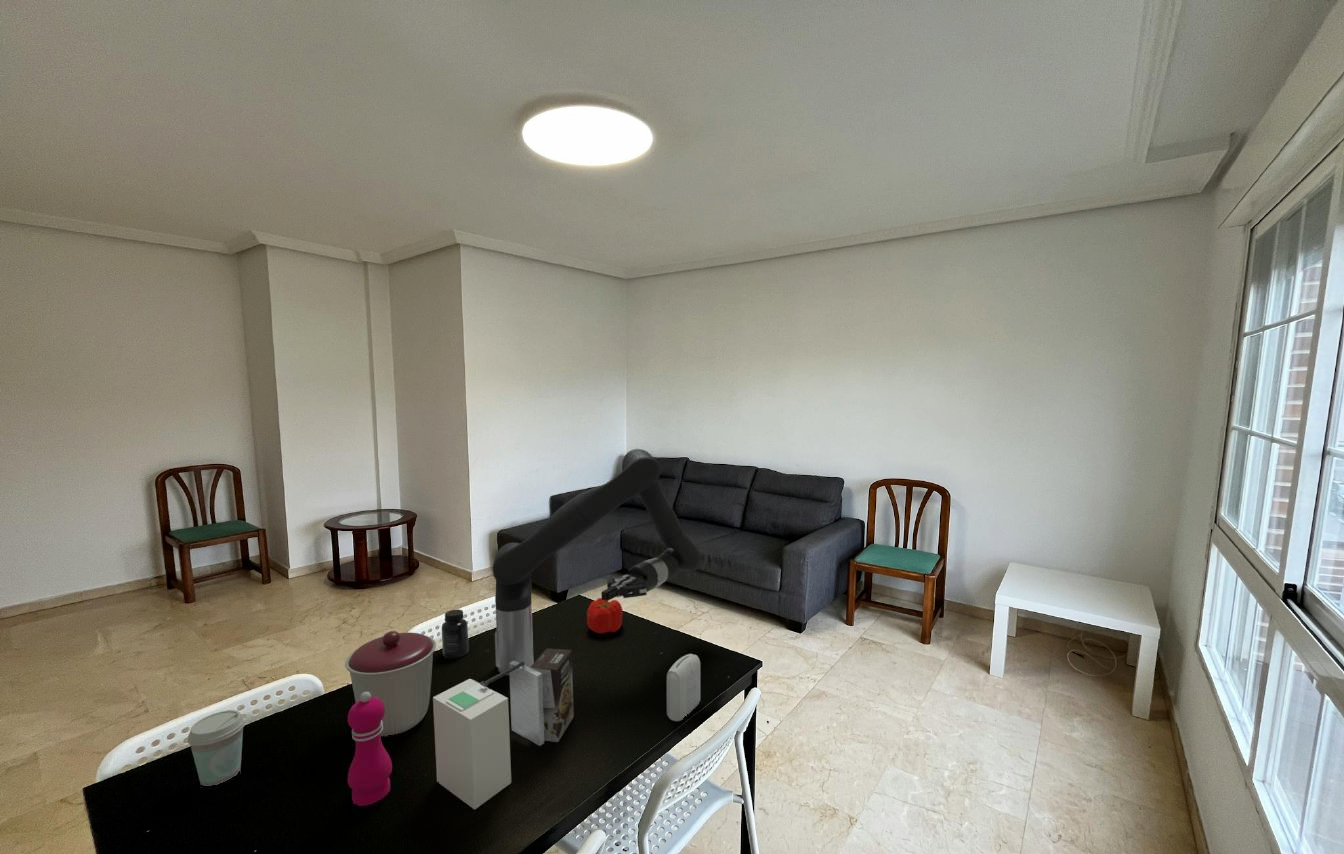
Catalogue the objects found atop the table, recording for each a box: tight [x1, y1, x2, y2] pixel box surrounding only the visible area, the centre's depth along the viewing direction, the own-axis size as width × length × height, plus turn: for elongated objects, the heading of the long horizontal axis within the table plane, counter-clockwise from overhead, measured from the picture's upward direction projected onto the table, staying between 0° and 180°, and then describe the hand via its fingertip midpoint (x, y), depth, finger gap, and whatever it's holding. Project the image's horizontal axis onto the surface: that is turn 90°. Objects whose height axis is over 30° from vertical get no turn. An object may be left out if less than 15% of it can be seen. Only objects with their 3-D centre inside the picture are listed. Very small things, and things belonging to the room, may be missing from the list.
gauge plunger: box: [479, 661, 545, 747], centre depth 111 cm, size 9×11×16 cm
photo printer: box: [666, 653, 701, 722], centre depth 127 cm, size 10×4×12 cm, turn 147°
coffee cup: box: [187, 709, 246, 786], centre depth 106 cm, size 8×8×12 cm
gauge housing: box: [432, 678, 512, 810], centre depth 104 cm, size 12×8×17 cm, turn 54°
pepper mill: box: [347, 692, 393, 807], centre depth 101 cm, size 7×7×20 cm
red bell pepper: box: [586, 597, 624, 634], centre depth 168 cm, size 11×12×9 cm
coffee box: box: [530, 648, 575, 743], centre depth 121 cm, size 9×6×16 cm
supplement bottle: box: [441, 608, 470, 660], centre depth 154 cm, size 7×7×12 cm
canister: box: [344, 630, 437, 737], centre depth 123 cm, size 18×18×21 cm
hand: (603, 596), depth 133 cm, fingers closed
